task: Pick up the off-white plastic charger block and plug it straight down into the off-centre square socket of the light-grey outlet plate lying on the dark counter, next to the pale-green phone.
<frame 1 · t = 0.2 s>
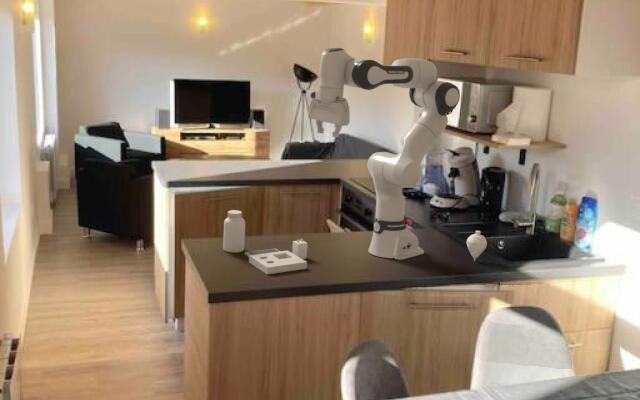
hand: (327, 135, 238), 47 cm above the table, fingers open, 8 cm apart
charger: (299, 257, 253), on the table
spinning top: (474, 261, 263), on the table
phone: (264, 256, 253), on the table
outlet plate: (277, 265, 243), on the table
pill bottle: (233, 250, 257), on the table
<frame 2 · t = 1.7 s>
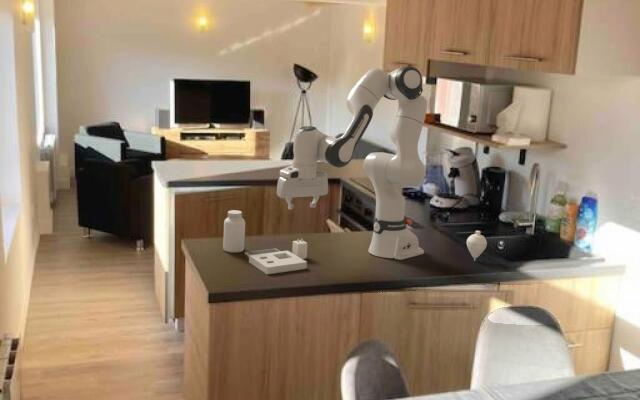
hand: (301, 208, 249), 19 cm above the table, fingers open, 8 cm apart
nothing on the table moved.
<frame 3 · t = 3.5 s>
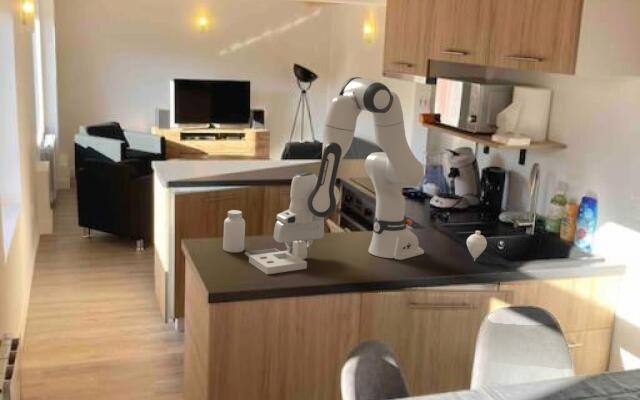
hand: (298, 251, 252), 2 cm above the table, fingers open, 6 cm apart
nothing on the table moved.
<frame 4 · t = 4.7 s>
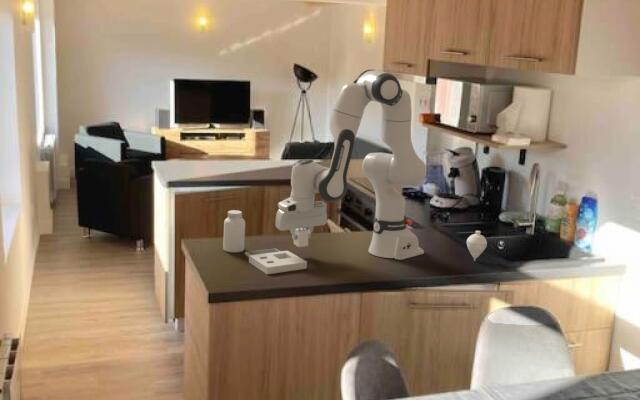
hand: (301, 238, 253), 7 cm above the table, fingers closed on charger, 4 cm apart
charger: (300, 244, 254), point 4 cm above the table, touching gripper
everything else where it was.
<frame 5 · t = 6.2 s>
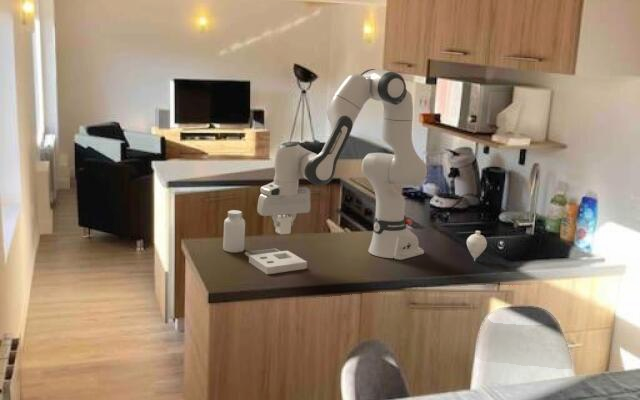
hand: (283, 225, 243), 14 cm above the table, fingers closed on charger, 4 cm apart
charger: (282, 232, 243), point 11 cm above the table, touching gripper
everything else where it was.
when the fingers open (4 cm above the table, at t = 8.1 s): charger drops 1 cm, resting in outlet plate.
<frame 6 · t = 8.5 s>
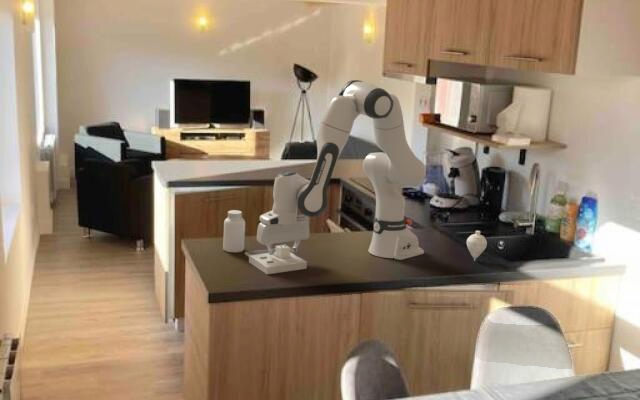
hand: (282, 253, 245), 4 cm above the table, fingers open, 8 cm apart
charger: (282, 262, 246), resting in outlet plate
everything else where it was.
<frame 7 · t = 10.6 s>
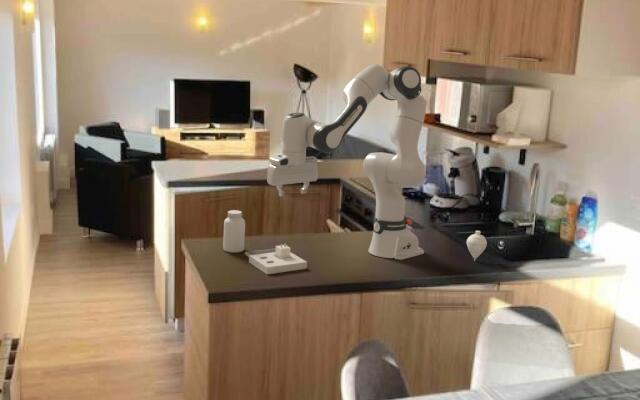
hand: (292, 194, 250), 23 cm above the table, fingers open, 8 cm apart
nothing on the table moved.
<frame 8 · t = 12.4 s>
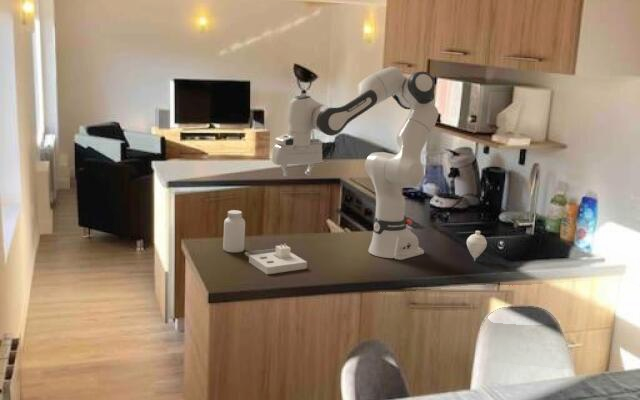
hand: (296, 175, 256), 29 cm above the table, fingers open, 8 cm apart
nothing on the table moved.
at the end: charger 0.1 cm from the target spot on the outlet plate, point 0.0 cm above the outlet plate's base; charger tilted 0°; the gripper is holding nothing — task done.
